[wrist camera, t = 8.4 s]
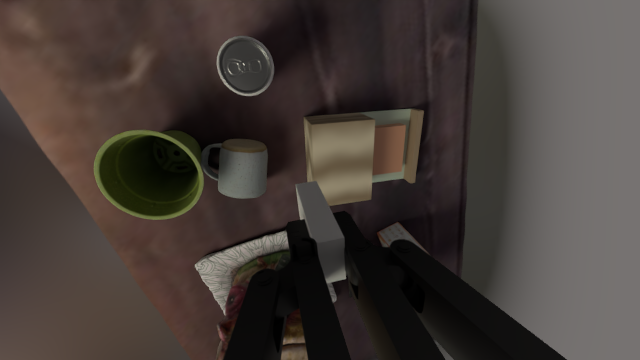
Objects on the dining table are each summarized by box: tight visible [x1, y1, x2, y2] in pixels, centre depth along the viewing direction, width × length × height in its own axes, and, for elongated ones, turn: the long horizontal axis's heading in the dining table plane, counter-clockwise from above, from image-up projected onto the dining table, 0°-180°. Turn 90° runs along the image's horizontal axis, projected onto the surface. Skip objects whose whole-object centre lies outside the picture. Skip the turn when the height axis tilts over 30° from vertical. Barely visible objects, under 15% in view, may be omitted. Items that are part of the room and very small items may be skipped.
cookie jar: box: [195, 230, 337, 360], centre depth 42 cm, size 25×25×32 cm
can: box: [217, 36, 274, 96], centre depth 33 cm, size 6×6×12 cm
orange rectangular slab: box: [372, 123, 406, 175], centre depth 48 cm, size 9×6×2 cm, turn 2°
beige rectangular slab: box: [304, 113, 375, 206], centre depth 44 cm, size 14×10×7 cm
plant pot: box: [94, 130, 204, 220], centre depth 36 cm, size 12×12×11 cm
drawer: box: [359, 108, 424, 183], centre depth 48 cm, size 14×11×3 cm
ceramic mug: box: [201, 139, 268, 199], centre depth 40 cm, size 11×8×8 cm
